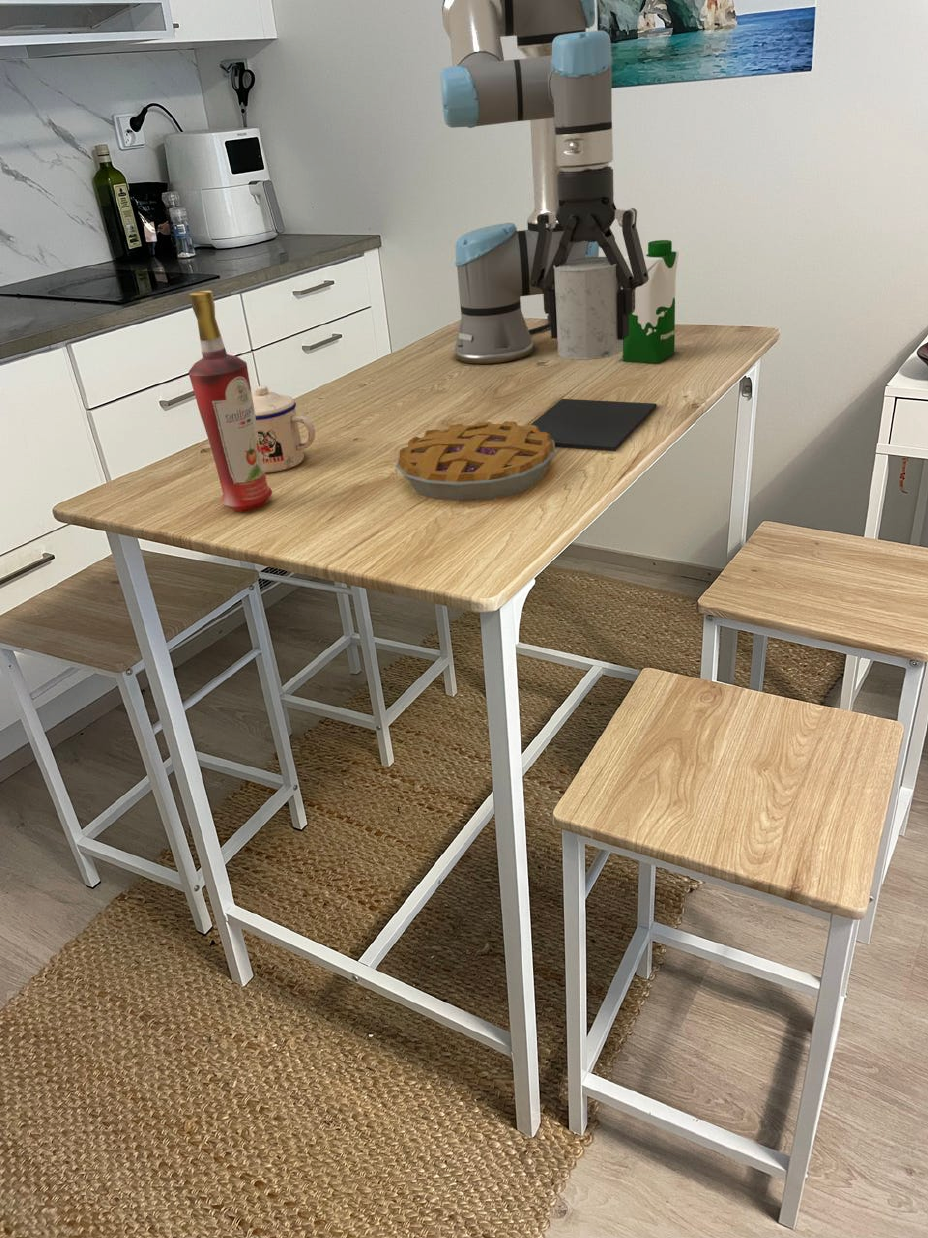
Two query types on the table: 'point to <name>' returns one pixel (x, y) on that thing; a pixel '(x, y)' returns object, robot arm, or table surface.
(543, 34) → the robot arm
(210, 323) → the liquor
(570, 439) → the back mat
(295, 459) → the teacup with lid
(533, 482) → the pie
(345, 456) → the table surface
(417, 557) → the table surface
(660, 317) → the milk carton
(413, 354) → the table surface
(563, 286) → the tin can
